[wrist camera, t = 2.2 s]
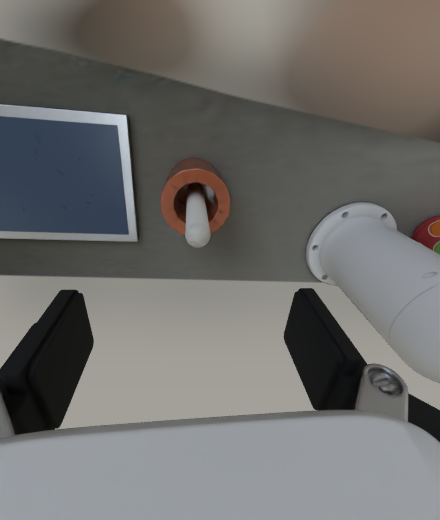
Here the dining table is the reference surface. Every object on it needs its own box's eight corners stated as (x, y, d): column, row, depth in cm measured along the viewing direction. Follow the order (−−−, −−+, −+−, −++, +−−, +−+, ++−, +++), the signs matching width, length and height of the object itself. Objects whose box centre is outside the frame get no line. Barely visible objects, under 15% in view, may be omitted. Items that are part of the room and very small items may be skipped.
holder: (224, 159, 29) (233, 170, 23) (220, 215, 33) (227, 238, 26) (166, 155, 28) (159, 166, 22) (167, 213, 32) (162, 236, 26)
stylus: (203, 181, 30) (212, 228, 17) (202, 196, 31) (210, 252, 18) (187, 180, 30) (185, 227, 17) (187, 195, 30) (184, 251, 18)
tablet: (128, 114, 26) (126, 114, 25) (138, 239, 33) (137, 242, 32) (-95, 96, 24) (-105, 95, 23) (-34, 234, 31) (-40, 237, 30)
